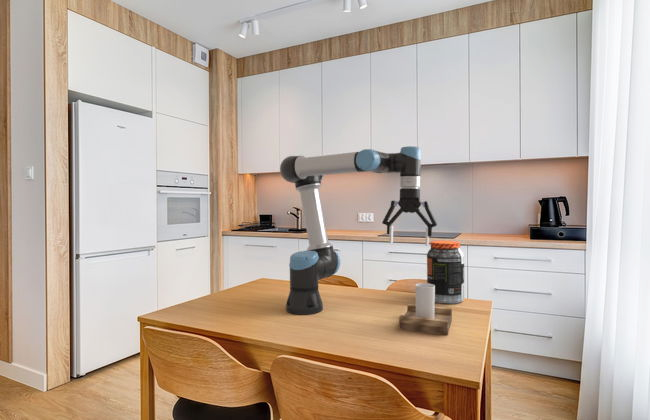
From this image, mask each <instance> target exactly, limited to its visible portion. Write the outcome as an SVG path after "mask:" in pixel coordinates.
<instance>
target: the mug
mask: <svg viewBox="0 0 650 420" xmlns="http://www.w3.org/2000/svg"><path fill="white" fill-rule="evenodd" d="M414 286H415V290H414V291H415V293H414V294H415V297H414V298H415V305H416V317H424V318H433V319H434V309H435V307H436V306H435V303H436V302H435V285H433V284H428V283H427V282H425V283H424V282H422V283H421V282H420V283H416V284H415V285H414Z"/></svg>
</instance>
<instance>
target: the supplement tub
mask: <svg viewBox="0 0 650 420" xmlns="http://www.w3.org/2000/svg"><path fill="white" fill-rule="evenodd" d="M429 245H430V249H429V250H428V251H427V254H426V278H427V279H426V283H428V284H433V285H435V303H440V304H459V303H462V302H464V300H465V255H464V252H463V251H462V249H461V242H460V241H455V240H454V241H453V240H432V241H430V244H429Z"/></svg>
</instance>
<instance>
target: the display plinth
mask: <svg viewBox="0 0 650 420" xmlns="http://www.w3.org/2000/svg"><path fill="white" fill-rule="evenodd" d="M406 307H407V308H406V309H407V310H406V311H405V313H404V314H400V315H399V316H398V322H399V325H398V326H399V330H405V331H411V332H412V331H414V332H421V333H429V334H438V335H444V336H449V331H450V329H451V324H452V321H453V318H452V317H453V316H452V314H453V308H452V307H445V306H444V307H443V306H435V309H434V319H433V318H424V317H416V303H415V304H414V303H408V304H407V306H406Z"/></svg>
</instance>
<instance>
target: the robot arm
mask: <svg viewBox="0 0 650 420" xmlns="http://www.w3.org/2000/svg"><path fill="white" fill-rule="evenodd" d="M421 150H422V149H421V148H420V147H419V146H411V145H410V146H402V147H400V151H399V152H393V153H389V152H388V153H387V152H383V151H378V150H375V149H372V148H371V149H369V148H364V149H362V150H360V151H353V152H344V153H336V154H335V153H333V154H327V155H318V156H317V155H315V156H308V157H306V156H304V155H289V156H287V157H285V158H284V159H283V160H282V161H281V163H280V165H279V173H280V175H281V177H282V179H284V180H285V181H286V182H289V183H291V184H294V186H295V190H296V191H297V192H298V193H299V194H300V195H299V196H300V201H301V204H302V206H301V207H302V211H303V217H304V222H305V228H306V229H305V230H306V234H307V239H308V245H309V246H308V247H307V249H306V250H302V251H296V252H294V253H292V254H291V255H290V257H289V265H288V266H289V293H288V297H287V300H286V304H285V311H286V312H287V313H289V314H293V315H313V314H317V313H320V312H322V311H323V309H324V304H323V303H324V302H323V301H322V300H323V299H322V297H321V294H320V291H319V281H320V280H323V279H326V278H330V277H331V276H334V275H336V273H337V272H338V271H339V270H340V267H341V258H340V256H339V254H338V253H337V252H336V251H335V250H334V246H333V244H332V243H330V241H329V237H328V233H327V232H328V231H327V227H326V222H325V216H324V210H323V206H322V205H323V204H322V199H321V194H320V188H321V187H322V180H323V177H324V176H326V175H340V174H350V173H351V174H352V173H365V172H372V173H374V174H390V173H391V174H392V173H397V174H398V173H399V188H400V189H399V200H398V201H396V200H391V201H390V207H389V208H388V210H387V212H386V214H385V216H384V218H383V220H382V224H383V225H385V226H386V234H387V235H389V236H388V237H389V239H388V243H389V244H393V243H394V225H393V224H394V222H396V220H397V219H398V218H399V217H400V216H401V214H402V213H406V214H407V213H411V214H414V213H416V214H417V215H418V217H419V218H420V220H421V221H422V222H423V223H424V224H425V225H426V226H427V227H425V237H424V238H425V239H424V240H425V241H424V242H425V246H426V247H427V246H429V245H430V244H429V239H430V237H432V235H433V233H432V232H433V228H434V227H436V226H437V225H438V223H437V220H436V218H435V217H434V215H433V212H432V211H431V208H430V207H429V206H430V202H429V201H428V200H425V201H421V189H420V187H421V168H422V167H421V165H422V152H421ZM397 206H399V209H398V210H397V212H396V213H395V214H394V215H393V216H392V214H393V212H394V210H395V208H396V207H397ZM421 206H422V208H424V209H425V212H426V214H427V216H428V219H429V220H430V221H429V220H428V219H427V217H426V216H425V215H424V213H423V212H422V211H421V209H420V207H421ZM391 216H392V217H391ZM390 218H391V219H390ZM389 219H390V220H389Z"/></svg>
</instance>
